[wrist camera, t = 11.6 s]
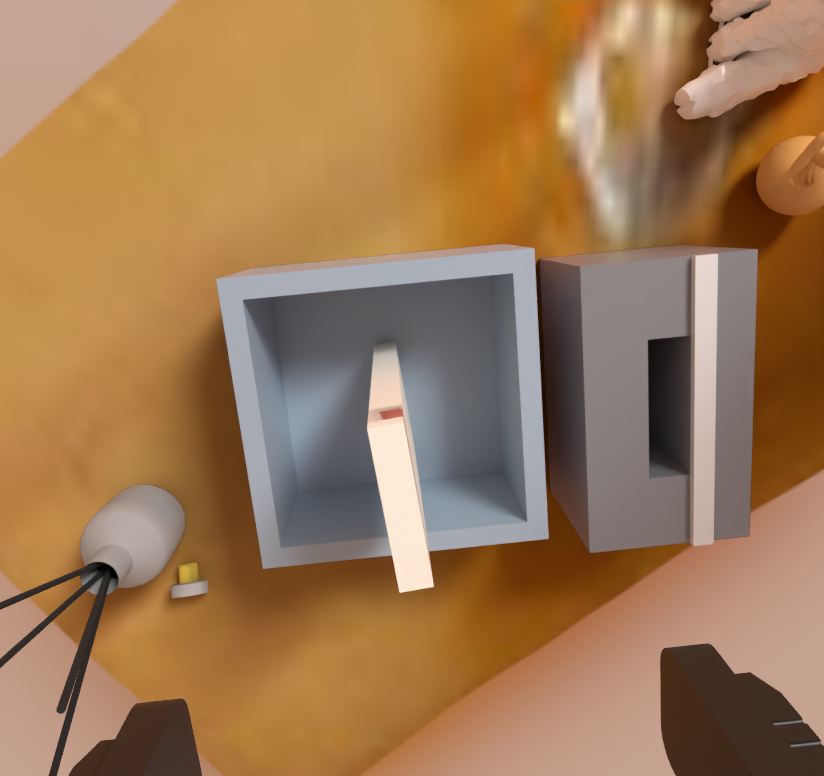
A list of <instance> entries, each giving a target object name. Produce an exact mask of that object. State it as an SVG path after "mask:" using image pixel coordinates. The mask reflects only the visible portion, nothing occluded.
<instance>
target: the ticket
mask: <svg viewBox="0 0 824 776" xmlns="http://www.w3.org/2000/svg"><path fill="white" fill-rule="evenodd" d="M367 431H368V436H369V441H370V446H371V451H372V456H373V461H374V466H375V472H376V477H377V482H378V487H379V492H380V497H381V502H382V507H383V512H384V517H385V522H386V527H387V532H388V537H389V542H390V547H391V552H392V557H393V562H394V567H395V572H396V577H397V582H398V588H399V593H402V592H407V591H413V590H419V589H424V588H430V587H434V584H433V577H432V570H431V563H430V555H429V548H428V541H427V534H426V526H425V519H424V512H423V505H422V497H421V490H420V483H419V476H418V469H417V461H416V454H415V447H414V440H413V435H412V429H411V424H410V418H409V413H408V407H407V402H406V396H405V391H404V385H403V380H402V374H401V369H400V363H399V357H398V352H397V346H396V341H391V342H386V343H380V344H375V345H374V353H373V365H372V377H371V389H370V400H369V412H368V424H367Z"/></svg>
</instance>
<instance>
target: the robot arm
mask: <svg viewBox="0 0 824 776" xmlns="http://www.w3.org/2000/svg"><path fill="white" fill-rule="evenodd" d="M660 663H661V664H660V666H661V669H660V670H661V731H662V738H663V742H664V747H665V750H666V754H667V756H668V760H669V762H670V765H671V767H672V769H673V771H674V773H675V775H676V776H824V746H823V745H822V744H821V740H820V739H819V737H818V736H817V735H816V734H815V733H814V732H813V730H812V729H811V728H810V727H809V726H808V725H807V724H804V722H803V720H802V718H801V716H800V715H799V714H798V713H797V711H796V710H795V709H794V708H793V707H792V705H790V703H789V702H788V701H787V699H786V698H785V697H784V696H783V695H782V693H780V692H779V691H777V690H776V689H774V688H773V687H771V686H770V685H768V684H767V683H765V682H764V681H762V680H761V679H759V678H758V677H756V676H755V675H753V674H752V673H750V672H749V673H740V674H734V673H733V671H732V670H731V669H730V667H729V666H728V665H727V664H726V662H725V661H724V660H723V658H722V657H721V656H720V654H719V653H718V652H717V651H716V650H715V648H714V647H713V646H712V645H710V644H699V645H689V646H680V647H671V648H664V649H663V650H662V653H661V659H660ZM69 776H202V773H201V768H200V763H199V758H198V753H197V748H196V743H195V739H194V734H193V729H192V724H191V719H190V715H189V710H188V706H187V704H186V702H185V700H183V699H172V700H163V701H154V702H145V703H137V704H136V705H134V706H133V708H132V709H131V711H130V712H129V714H128V716H127V718H126V720H125V722H124V724H123V726H122V727H121V729H120V731H119V733H118V735H117V737H116V739H114V740H104V741H100V742H99V743H98V744H97V745H96V746H95V747H94V748H93V749H92V750H91V751H90V752H89V753H88V754H87V755H86V756H85V757H84V758H83V759H82V760H81V761H80V762H79V763H77V764H76V765H75V766H74V767H73V769H72V771H71V772H70V774H69Z"/></svg>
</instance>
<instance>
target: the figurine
mask: <svg viewBox="0 0 824 776" xmlns="http://www.w3.org/2000/svg"><path fill="white" fill-rule="evenodd" d="M756 188H757V192H758V194H759V197H760V198H761V200H762V201H763V203H764V204H765V205H766V206H767V207H769V208H770V209H771V210H773V211H775V212H777V213H780V214H784V215H803V214H807V213H810V212H813V211H815V210H817V209H819V208H820V207H822V206H823V205H824V131H823V132H821V133H820V134H819V135H817V136H816V137H815V136H798V137H794V138H790V139H788V140H785V141H783V142H781V143H780V144H778V145H776V146H775V147H774V148H773V149H771V150H770V151H769V152H768V153H767V155H766V156H765V157H764V159H763V160H762V162H761V164H760V166H759V168H758V171H757V176H756Z"/></svg>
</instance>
